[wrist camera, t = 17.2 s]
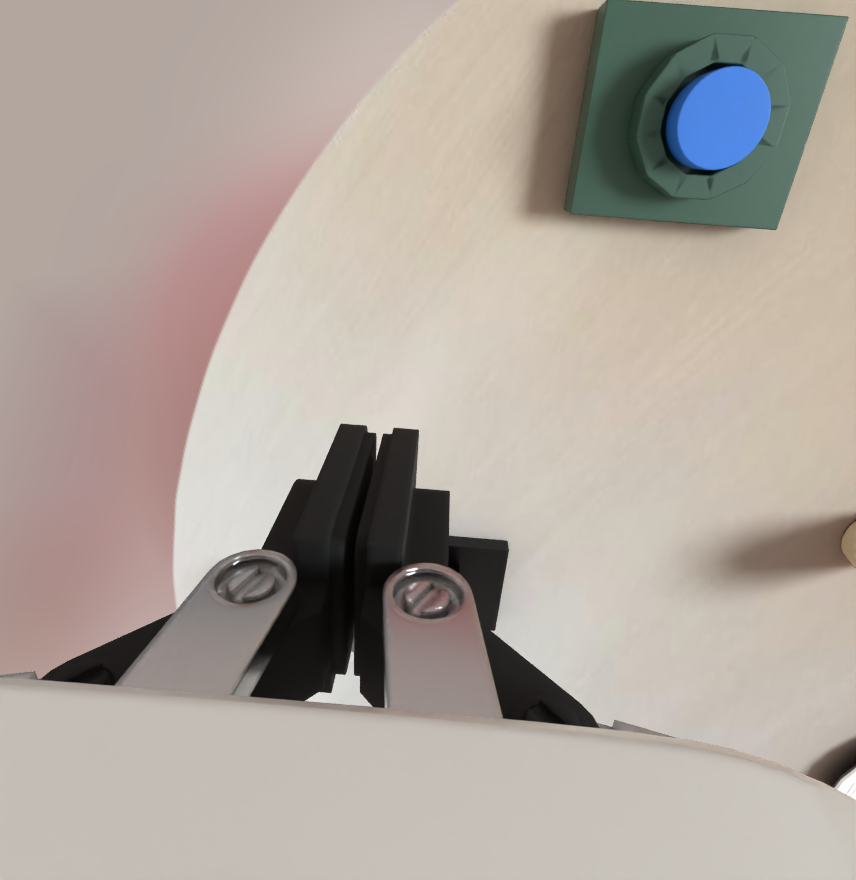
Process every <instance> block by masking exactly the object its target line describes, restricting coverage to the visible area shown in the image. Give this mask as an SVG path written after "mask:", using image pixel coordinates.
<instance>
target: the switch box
mask: <svg viewBox="0 0 856 880" xmlns="http://www.w3.org/2000/svg"><path fill="white" fill-rule="evenodd" d="M848 18H849V17H847V16H833V15H820V14H806V13H793V12H779V11H766V10H752V9H739V8H725V7H712V6H698V5H685V4H671V3H658V2H644V1H631V0H606V1H605V3H604V4H603V5H602V6H601V7H600V8H599V9H598V11H597V17H596V23H595V29H594V35H593V41H592V47H591V53H590V59H589V64H588V70H587V76H586V82H585V88H584V94H583V100H582V106H581V112H580V118H579V123H578V129H577V135H576V141H575V147H574V153H573V159H572V165H571V171H570V177H569V182H568V188H567V194H566V200H565V206H564V210H565V211H566V212H568V213H570V214H578V215H591V216H604V217H616V218H629V219H642V220H655V221H667V222H680V223H693V224H706V225H718V226H731V227H744V228H756V229H769V230H776V229H777V227H778V224H779V221H780V218H781V215H782V212H783V209H784V206H785V203H786V200H787V197H788V194H789V192H790V189H791V186H792V183H793V180H794V177H795V174H796V171H797V168H798V165H799V162H800V159H801V156H802V153H803V150H804V147H805V145H806V142H807V139H808V136H809V133H810V130H811V127H812V124H813V121H814V118H815V115H816V112H817V109H818V106H819V103H820V100H821V98H822V95H823V92H824V89H825V86H826V83H827V80H828V77H829V74H830V71H831V68H832V65H833V62H834V59H835V56H836V53H837V51H838V48H839V45H840V42H841V39H842V36H843V33H844V30H845V27H846V24H847V21H848ZM729 66H740V67H745V68H748V69H750V70H752V71H754V72H755V73H757V74H758V75H759V76H760V77H761V78H762V79H763V81H764V82H765V84H766V86H767V88H768V91H769V95H770V101H771V111H770V118H769V122H768V125H767V128H766V130H765V132H764V134H763V136H762V138H761V140H760V141H759V143H758V144H757V145H756V147H755V148H754V149H753V150H752V151H751V152H750V153H749V154H748V155H747V156H746V157H745V158H744V159H742V160H741V161H739V162H738V163H736V164H734V165H732V166H729V167H727V168H723V169H718V170H703V169H693V168H689V167H686V166H684V165H682V164H681V163H680V162H678V161H677V160H676V159H675V158H674V156H673V155H672V154H671V152H670V150H669V148H668V145H667V141H666V133H665V130H666V121H667V116H668V113H669V110H670V108H671V105H672V104H673V102H674V100H675V98H676V97H677V95H678V94H679V93H680V92H681V90H682V89H683V88H684V87H685V86H686V85H687V84H688V83H690V82H691V81H692V80H694V79H695V78H697V77H699V76H701V75H703V74H705V73H708V72H711V71H714V70H717V69H721V68H724V67H729Z"/></svg>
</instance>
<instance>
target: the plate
mask: <svg viewBox="0 0 856 880" xmlns="http://www.w3.org/2000/svg"><path fill="white" fill-rule="evenodd" d="M833 788H835V789H837V790H839V791H841V792H842V793H844V794H846V795H848V796H850V797H852V798H853V799H855V800H856V765H854V766H853V767H852V768H851V769H849V770H848V771H847V772H845V773H844V774H843V775H842V776H840V778H839V779H838V780H837V782H836V783H835V784H834V786H833Z"/></svg>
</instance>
